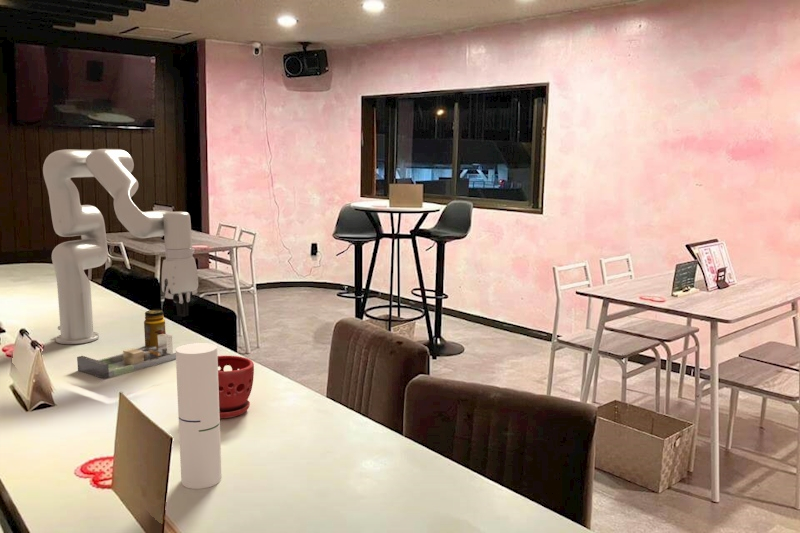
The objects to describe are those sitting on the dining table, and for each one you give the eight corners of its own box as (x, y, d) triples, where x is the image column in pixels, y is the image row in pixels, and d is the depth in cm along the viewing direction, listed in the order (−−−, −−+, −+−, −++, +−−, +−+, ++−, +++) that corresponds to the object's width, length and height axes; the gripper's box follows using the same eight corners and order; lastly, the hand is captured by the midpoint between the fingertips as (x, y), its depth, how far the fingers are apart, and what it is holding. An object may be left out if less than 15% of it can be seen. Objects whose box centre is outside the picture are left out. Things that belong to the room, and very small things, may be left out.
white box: (136, 358, 200) (135, 339, 199) (163, 351, 207) (162, 333, 207) (153, 363, 196) (152, 344, 195) (179, 355, 203) (179, 337, 202)
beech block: (123, 362, 197) (123, 350, 196) (133, 360, 199) (132, 348, 199) (134, 366, 194) (133, 353, 194) (144, 363, 197) (143, 351, 196)
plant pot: (203, 426, 155) (201, 373, 153) (191, 407, 167) (189, 358, 165) (261, 416, 161) (260, 366, 159) (246, 399, 173) (244, 351, 171)
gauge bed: (78, 374, 190) (77, 357, 189) (154, 354, 209) (153, 338, 208) (104, 383, 183) (102, 364, 182) (180, 361, 202) (179, 344, 202)
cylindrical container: (185, 471, 133) (180, 343, 129) (224, 470, 134) (220, 342, 130) (177, 489, 126) (171, 354, 122) (218, 488, 127) (213, 353, 123)
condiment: (170, 350, 214) (168, 312, 212) (141, 355, 209) (139, 315, 207) (163, 345, 220) (161, 307, 218) (135, 349, 215) (133, 310, 213)
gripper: (191, 250, 214) (195, 309, 216) (149, 256, 202) (153, 319, 204) (208, 252, 209) (211, 312, 212) (165, 258, 197) (169, 322, 200)
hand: (182, 315), depth 208 cm, fingers closed
